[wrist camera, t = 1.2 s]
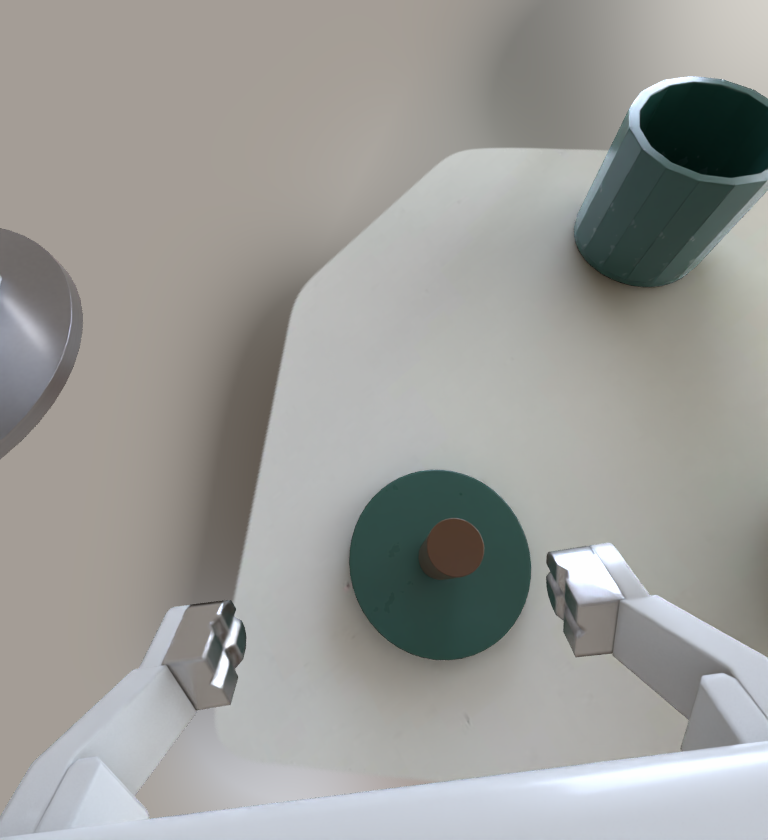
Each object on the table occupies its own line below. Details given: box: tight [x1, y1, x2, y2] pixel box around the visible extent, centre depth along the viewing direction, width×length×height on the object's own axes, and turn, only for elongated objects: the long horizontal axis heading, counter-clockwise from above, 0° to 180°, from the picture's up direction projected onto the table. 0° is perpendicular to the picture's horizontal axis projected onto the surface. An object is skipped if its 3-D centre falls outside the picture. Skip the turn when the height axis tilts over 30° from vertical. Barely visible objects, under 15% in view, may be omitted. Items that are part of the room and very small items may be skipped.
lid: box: [349, 470, 531, 660], centre depth 23 cm, size 11×11×9 cm
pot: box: [574, 76, 768, 287], centre depth 32 cm, size 10×10×10 cm
